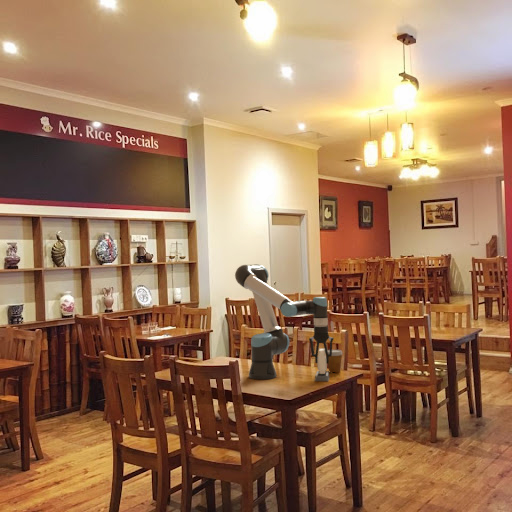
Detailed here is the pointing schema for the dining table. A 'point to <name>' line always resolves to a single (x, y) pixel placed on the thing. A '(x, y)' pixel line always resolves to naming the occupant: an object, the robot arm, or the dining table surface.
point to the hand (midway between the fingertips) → (322, 369)
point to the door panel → (321, 361)
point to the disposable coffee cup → (335, 360)
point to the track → (322, 376)
